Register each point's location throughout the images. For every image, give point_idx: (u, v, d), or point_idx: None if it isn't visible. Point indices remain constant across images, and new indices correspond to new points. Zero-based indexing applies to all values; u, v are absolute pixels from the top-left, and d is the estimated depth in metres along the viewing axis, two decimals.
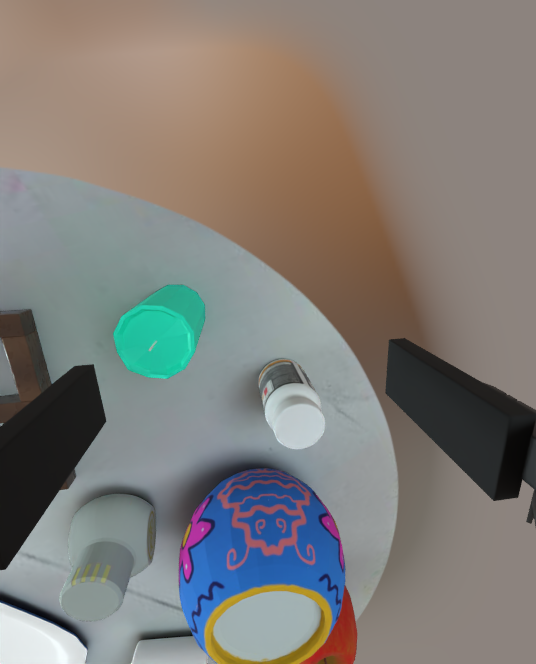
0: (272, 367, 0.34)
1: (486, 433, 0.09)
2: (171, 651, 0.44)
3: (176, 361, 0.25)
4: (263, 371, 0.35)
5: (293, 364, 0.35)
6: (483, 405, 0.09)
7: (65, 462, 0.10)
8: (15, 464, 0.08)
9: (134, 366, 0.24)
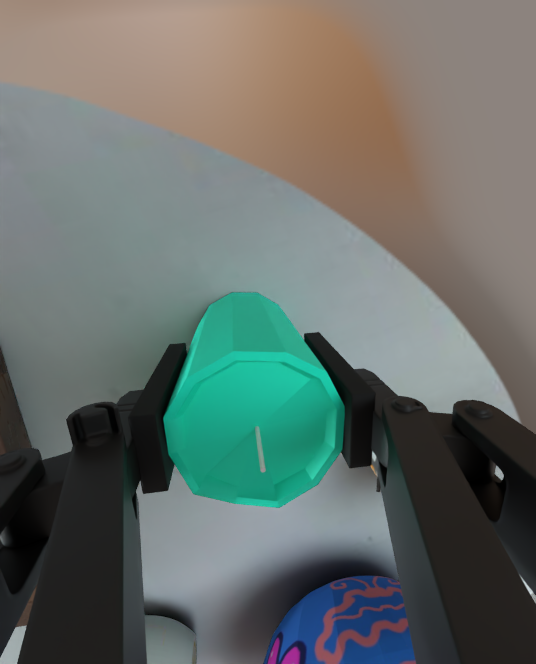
0: None
1: None
2: None
3: (297, 467, 0.11)
4: None
5: None
6: (342, 387, 0.10)
7: None
8: None
9: (206, 484, 0.11)
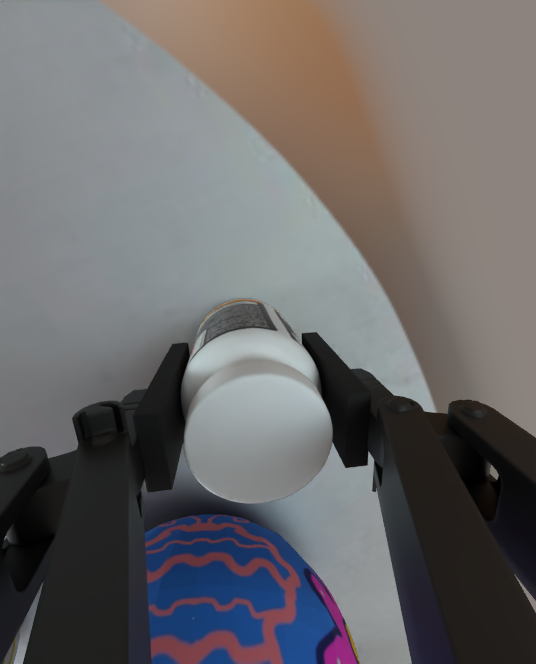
0: (217, 310, 0.16)
1: (340, 410, 0.10)
2: None
3: None
4: None
5: (263, 305, 0.17)
6: (338, 386, 0.11)
7: (183, 419, 0.13)
8: (170, 411, 0.10)
9: None
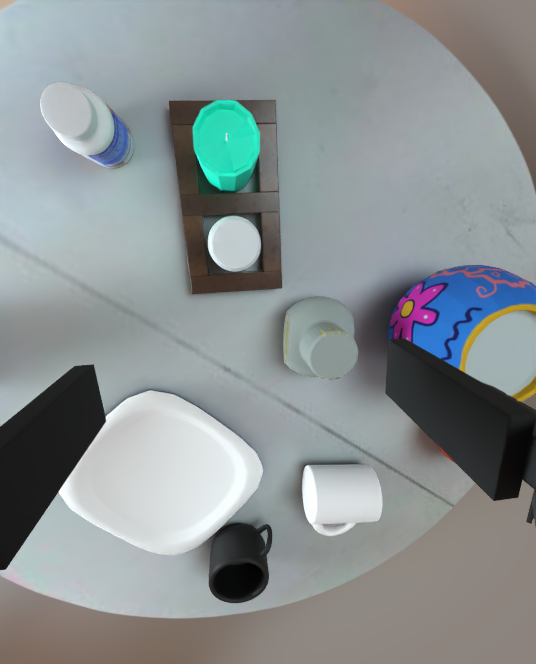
0: None
1: (486, 433, 0.09)
2: (342, 468, 0.48)
3: (243, 163, 0.28)
4: None
5: None
6: (483, 405, 0.09)
7: (65, 462, 0.10)
8: (15, 464, 0.08)
9: (207, 163, 0.28)
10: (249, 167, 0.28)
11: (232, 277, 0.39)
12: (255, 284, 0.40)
